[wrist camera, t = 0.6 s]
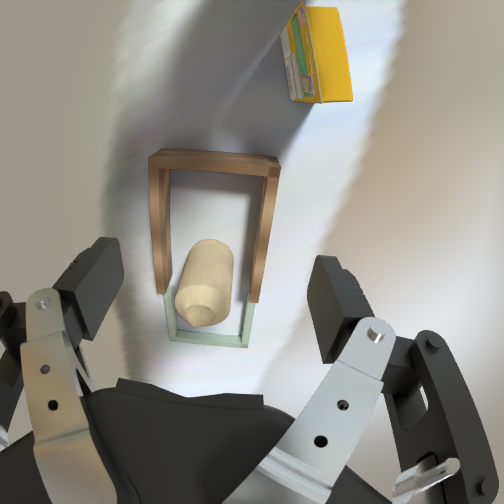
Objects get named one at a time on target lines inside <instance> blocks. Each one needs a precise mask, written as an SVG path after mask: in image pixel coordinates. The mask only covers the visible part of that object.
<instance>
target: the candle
mask: <svg viewBox="0 0 504 504" xmlns="http://www.w3.org/2000/svg"><path fill="white" fill-rule="evenodd" d="M233 263H234V259H233V254H232V252H231V250H230V249H229V247H228V246H227V245H225V244H224V243H222V242H220V241H218V240H213V239H207V240H202V241H200V242H198V243H196V244H195V245H194V246H193V247H192V249H191V250H190V253H189V255H188V258H187V261H186V264H185V268H184V271H183V274H182V277H181V280H180V284H179V287H178V290H177V294H176V297H175V308H176V310H177V312H178V313H179V314H180V315H181V316H182V317H183V318H184V319H185V320H186V321H188V322H189V323H190V324H191V325H192V326H194V327H201V326H211V325H215V324H218V323H220V322H222V321H223V320H225V319H226V318H227V316H228V315H229V312H230V304H231V291H232V277H233Z"/></svg>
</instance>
